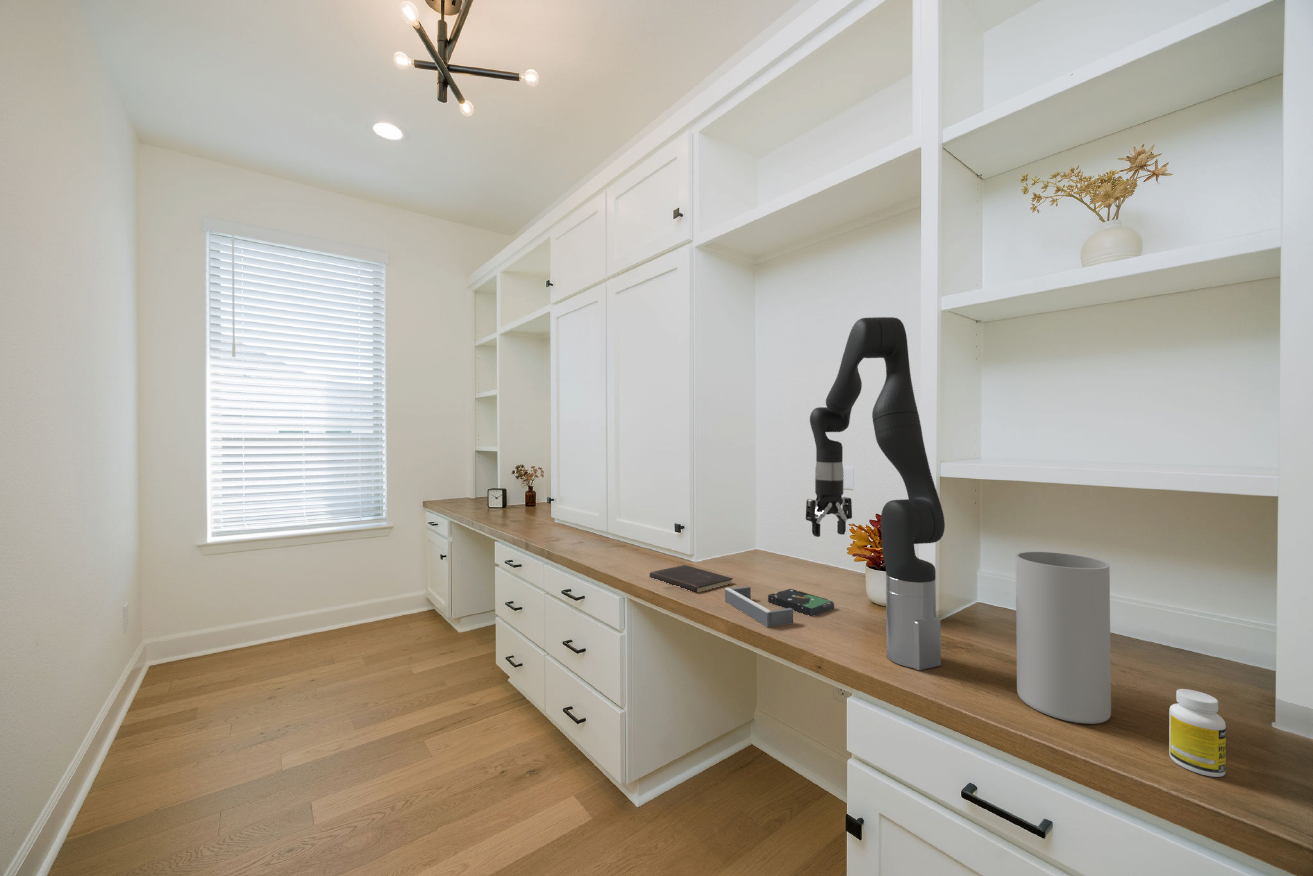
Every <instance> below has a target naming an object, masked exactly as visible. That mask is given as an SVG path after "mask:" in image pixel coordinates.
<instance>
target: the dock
mask: <svg viewBox="0 0 1313 876" xmlns="http://www.w3.org/2000/svg"><path fill="white" fill-rule="evenodd" d="M751 596H752V595H751V586H749V585H748V586H740V587H732V588H731V587H725V588H724V602H725V601H726V602H725V603H727V604H728V603H729V604H728V605H730V604H731V605H730V606H731V607H733V606H734V607H733V608H735V609H736V610H738V611H740V610H741V611H743V612H744V613H743V612H742V613H743V614H745V613H746V614H747V616H748V615H749V616H748V617H749V618H751V617H752V618H751V619H753V620H754V619H755V620H754V621H756V620H757V621H756V622H758V623H759V622H760V624H761V623H762V624H761V625H763V626H764V627H766V626H767V627H766V628H771V627H770V626H773V627H778V626H779V625H780V626H784V624H786V625H790V624H791V625H792V624H794V611H793V609H792V608H780V609H774V610H770V609H768V608H766V607H765V606H763V605H761V604H759V603H757V602H756V601H753V600H752V598H751ZM750 599H751V600H750ZM741 611H740V612H741ZM746 614H745V615H746ZM780 626H779V627H780Z"/></svg>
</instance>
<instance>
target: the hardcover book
mask: <svg viewBox="0 0 1313 876" xmlns="http://www.w3.org/2000/svg"><path fill="white" fill-rule="evenodd" d="M650 577H651V579H652V578H654V579H653V580H655V579H658V580H660V581H659V582H661V581H664V582H666V583H665V584H667V583H669V584H668V585H670V584H672V585H671V586H673V585H676V586H680V587H681V588H680V589H682V588H685V589H687V590H686V591H688V590H690V591H689V592H691V591H692V592H691V593H694V592H695V593H694V594H698V593H697V592H699V593H702V591H703V592H705V590H706V591H709V589H710V590H713V589H712V588H714V589H717V588H716V587H718V588H720V587H719V586H722V587H725V586H729V585H732V580H733V579H734V578H733V577H730V576H726V575H723V574H718V573H715V572H711V571H707V570H704V569H701V568H697V567H693V566H689V565H686V564H683V565H678V566H674V567H673V566H672V567H668V568H665V569H660V570H655V571H650V573H649V578H650ZM658 580H657V581H658ZM664 582H663V583H664ZM728 584H729V585H728ZM724 585H725V586H724ZM676 586H675V587H676ZM685 589H684V590H685Z"/></svg>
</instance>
